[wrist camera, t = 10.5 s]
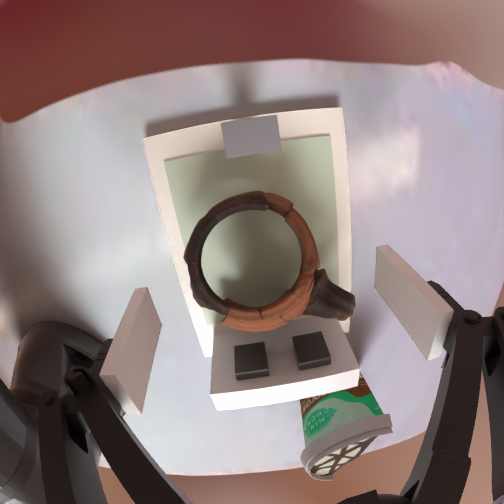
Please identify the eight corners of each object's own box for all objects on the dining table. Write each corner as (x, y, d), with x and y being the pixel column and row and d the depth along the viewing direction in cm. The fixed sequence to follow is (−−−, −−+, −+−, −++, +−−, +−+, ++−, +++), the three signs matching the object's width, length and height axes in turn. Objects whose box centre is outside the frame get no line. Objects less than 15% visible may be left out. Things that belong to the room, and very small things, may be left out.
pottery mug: (189, 301, 25) (153, 311, 17) (224, 194, 25) (204, 158, 17) (325, 344, 24) (350, 374, 16) (358, 237, 24) (397, 219, 16)
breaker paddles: (236, 352, 23) (236, 380, 21) (234, 345, 23) (234, 373, 20) (321, 338, 23) (330, 364, 21) (321, 330, 23) (331, 357, 20)
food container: (318, 353, 29) (344, 432, 20) (365, 359, 31) (396, 429, 22) (274, 417, 34) (284, 484, 25) (316, 420, 35) (331, 481, 26)
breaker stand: (205, 349, 28) (200, 415, 21) (146, 137, 20) (102, 150, 12) (346, 325, 28) (374, 385, 21) (337, 107, 19) (389, 106, 12)
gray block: (228, 144, 19) (226, 158, 13) (225, 121, 19) (220, 123, 12) (264, 138, 19) (281, 150, 12) (260, 116, 19) (276, 114, 12)
